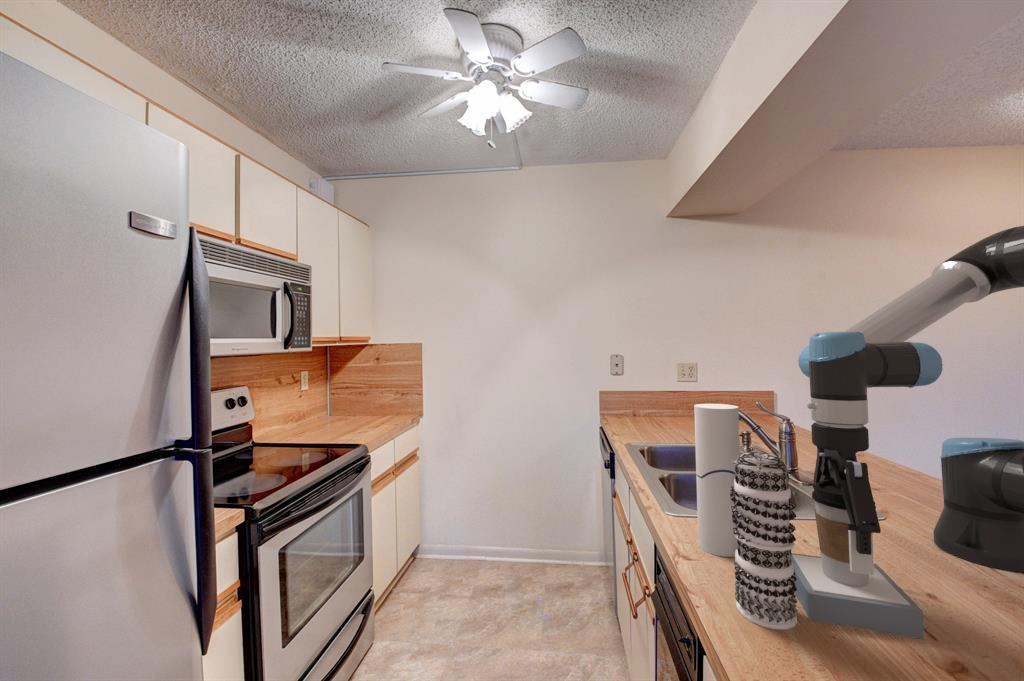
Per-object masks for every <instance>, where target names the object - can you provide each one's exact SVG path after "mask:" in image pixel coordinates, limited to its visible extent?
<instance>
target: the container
mask: <svg viewBox="0 0 1024 681" xmlns="http://www.w3.org/2000/svg"><path fill="white" fill-rule="evenodd" d="M693 408H694V409H693V410H694V412H693V413H694V441H695V473H696V474H695V478H696V479H695V480H696V482H695V483H696V512H697V516H696V517H697V542H698V543H697V544H698V547H699V548H700V550H703V551H704V552H706V553H709V554H711V555H715V556H719V557H724V558H735V550H736V549H738V546H737V538H736V537H735V536H734V533H733V532H734V530H733V527H734V526H735V523H734V522H732V514H733V513H732V509H731V505H733V501H732V500H731V499H730V497H731V496H730V493H731V492H732V491H731V490H730V489H731V488H730V487H732V486H734V480H735V465H734V464H733V461H735V460H737V459H738V458H739V456H740V455H741V449H740V446H741V443H740V442H741V441H740V416H739V414H740V411H739V406H737V405H733V404H727V403H726V404H725V403H697V404H694V405H693ZM734 489H735V488H734ZM735 497H736V500H737V496H736V495H735ZM736 508H737V507H736ZM737 520H738V519H737Z"/></svg>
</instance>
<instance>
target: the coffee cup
mask: <svg viewBox="0 0 1024 681" xmlns="http://www.w3.org/2000/svg"><path fill="white" fill-rule="evenodd" d="M811 499H812V500H813V501H814V503H815V504H814V505H815V509H814V516H815V522H816V530H817V538H818V543H819V544H818V545H819V550H820V551H819V552H820V557H821V559H822V568H823V573H824V574H825V575H826V576H827V577H828V578H830V579H832V580H834V581H836V582H839V583H842V584H845V585H849V586H857V587H860V586H866V585H867V584H868V580H869V575H867V574H859V573H852V572H851V571H850V559H849V533H848V530H847V529H846V526H847V525H848V524H851V523H850V520H849V516H848V513H847V510H846V506H845V503H844V499H843V496H842V493H841V489H840V488H839V487H837V486H836V484H835V481H834V479H831V480H823V481H820V482H817V483H816V484H815V487H814V488H813V491H812V492H811ZM874 504H875V508H876V509H877V507H876V502H875V501H874ZM863 523H865V522H863ZM872 535H873V533H872Z"/></svg>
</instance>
